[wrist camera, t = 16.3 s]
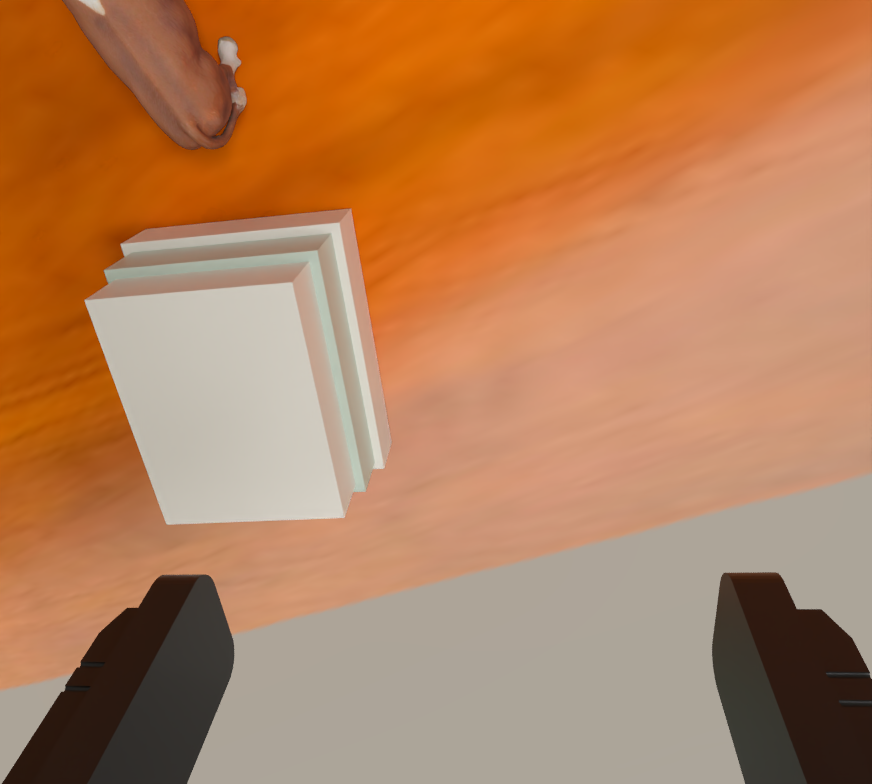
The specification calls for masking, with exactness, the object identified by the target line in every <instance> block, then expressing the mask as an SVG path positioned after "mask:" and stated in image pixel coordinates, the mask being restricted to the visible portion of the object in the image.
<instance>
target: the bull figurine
mask: <svg viewBox="0 0 872 784" xmlns="http://www.w3.org/2000/svg"><path fill="white" fill-rule="evenodd" d="M62 1H63V2H64V3H65V5H66V6H67V7H68V9H69V10H70V11H71V13H72V14H73V15H74V17H75V19H76V21H77V22H78V24H79V26H80V28H81V29H82V31H83V32H84V34H85V35H86V37H87V38H88V39H89V41H90V42H91V44H92V45H93V46H94V48H95V49H96V50H97V52H98V53H99V54H100V56H101V57H102V59H103V60H104V61H105V62H106V64H107V65H108V66H109V68H110V69H111V70H112V71H113V72H114V73H115V74H116V75H117V76H118V77H119V78H120V79H121V80H122V81H123V83H124V84H125V85H126V86H127V87H128V88H129V89H130V90H131V91H132V92H133V93H134V94H135V96H136V98H137V99H138V100H139V102H140V103H141V105H142V106H143V107H144V109H145V110H146V111H147V113H148V114H149V115H150V116H151V118H152V119H153V120H154V121H155V123H156V124H157V125H158V126H159V127H160V128H161V129H162V130H163V131H164V132H165V134H166V135H168V136H169V137H170V138H171V139H172V140H173V141H174V142H176V143H177V144H178V145H180V146H182V147H183V148H186V149H190V150H194V149H198V148H200V147H201V146H202V147H204V148H206V149H217V148H220V147H223V146H224V145H225V144H226V143H227V142H228V141H229V139H230V138H231V136H232V133H233V130H234V127H235V123H236V120H237V118H238V116H239V114H240V113H241V112H242V111H243V110H244V108H245V105H246V103H247V98H246V94H245V91H244V89H243V88H241V87H237V85H236V83H235V79H234V73H235V71H236V69H237V67H238V66H240V64H241V61H240V59H238V58H237V51H238V46H237V44H236V42H235V41H234V40H233V39H232V38H230V37H222V38H220V39H219V40H218V53H219V56H220V60H221V64H220V65H218V64H217V62H216V61H215V60H214V59H213V57H212V56H211V55H210V54H209V53H207V52H206V51H205V50H203V49H202V48H201V45H200V42H199V38H198V33H197V28H196V24H195V21H194V18H193V16H192V14H191V12H190V10H189V8H188V7H187V5H186V4H185V2H184V1H183V0H62ZM230 114H231V115H230ZM228 119H229V120H228ZM227 121H228V123H227ZM226 123H227V126H226V128H225V129H224V132H223V133H222V134H221V135H220V136H216V134H217V133H218V132H219V131H220V130H221V129H222V128H223V127H224V126H225V125H226Z"/></svg>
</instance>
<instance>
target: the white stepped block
mask: <svg viewBox="0 0 872 784" xmlns="http://www.w3.org/2000/svg"><path fill="white" fill-rule="evenodd" d="M120 245H121V248H122V251H123V254H124V258H122V259H121V260H119V261H117V262H116V263H114V264H113V265H111V266H109V267H108V268H106V269H105V270H104V273H105V276H106V279H107V281H108V285H106V286H105V287H103V288H102V289H100V290H99V291H97V292H96V293H94V294H93V295H91V296H90V297H88V298H87V299H85V300H84V301H85V303H86V306H87V309H88V312H89V314H90V317H91V320H92V323H93V325H94V328H95V331H96V333H97V336H98V339H99V342H100V344H101V347H102V350H103V353H104V355H105V358H106V361H107V363H108V366H109V369H110V372H111V374H112V377H113V380H114V383H115V385H116V388H117V391H118V393H119V396H120V399H121V402H122V404H123V407H124V410H125V413H126V415H127V418H128V421H129V423H130V426H131V429H132V432H133V434H134V437H135V440H136V443H137V445H138V448H139V451H140V453H141V456H142V459H143V462H144V464H145V467H146V470H147V473H148V475H149V478H150V481H151V483H152V486H153V489H154V492H155V494H156V497H157V500H158V503H159V505H160V508H161V511H162V513H163V516H164V519H165V522H166V524H167V525H169V524H196V523H222V522H248V521H274V520H300V519H327V518H345V515H346V512H347V509H348V506H349V503H350V500H351V497H352V494H353V492H366V489H367V486H368V483H369V480H370V476H371V473H372V470H373V469H384V468H385V464H386V461H387V457H388V454H389V450H390V447H391V443H392V441H391V435H390V429H389V424H388V418H387V412H386V406H385V401H384V395H383V389H382V383H381V378H380V372H379V366H378V361H377V355H376V349H375V343H374V338H373V332H372V326H371V320H370V315H369V309H368V303H367V297H366V292H365V286H364V280H363V274H362V269H361V263H360V257H359V251H358V246H357V240H356V234H355V228H354V223H353V217H352V211H351V208H350V209H340V210H330V211H320V212H310V213H300V214H291V215H281V216H271V217H261V218H251V219H241V220H231V221H221V222H211V223H201V224H191V225H181V226H171V227H161V228H152V229H145V230H143V231H142V232H140V233H138V234H137V235H135V236H133V237H132V238H130V239H128V240H126V241H125V242H123V243H121V244H120Z"/></svg>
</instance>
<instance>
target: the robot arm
mask: <svg viewBox="0 0 872 784" xmlns="http://www.w3.org/2000/svg"><path fill="white" fill-rule="evenodd" d="M712 657H713V668H714V674H715V680H716V685H717V689H718V692H719V696H720V699H721V702H722V706H723V709H724V713H725V716H726V720H727V723H728V726H729V730H730V733H731V736H732V740H733V743H734V747H735V750H736V754H737V757H738V760H739V764H740V767H741V771H742V774H743V777H744V780H745V784H872V679H871V678H870V672H869V670H868V668H867V666H866V664H865V663H864V661H863V658H862V657H861V655H860V653H859V651H858V649H857V647H856V645H855V643H854V641H853V639H852V638H851V637H850V636H849V635H848V634H847V633H846V632H845V631H844V630H842V628H841V627H839V626H838V625H837V624H836V623H835V622H834V621H833V620H832V619H831V618H830V617H829V616H828V615H827V614H826V613H825V612H823V611H822V610H820V609H817V610H815V609H814V610H813V609H812V610H809V609H807V610H805V609H801V610H800V609H796V607H795V604H794V602H793V600H792V598H791V596H790V593H789V592H788V589H787V587H786V585H785V583H784V581H783V579H782V577H781V576H780V575H779V574H778V573H724V574H723V575H722V577H721V581H720V588H719V596H718V605H717V612H716V619H715V627H714V635H713V644H712ZM233 663H234V643H233V638H232V635H231V632H230V629H229V626H228V623H227V620H226V617H225V614H224V611H223V608H222V605H221V602H220V599H219V596H218V593H217V590H216V587H215V584H214V582H213V580H212V578H211V577H210V576H208V575H162V576H160V577H158V578H157V579H156V580H155V582H154V583H153V584H152V586H151V588H150V589H149V591H148V593H147V594H146V596H145V598H144V599H143V601H142V603H141V604H140V606H139V608H127V609H125V610H124V611H123V612H122V613H121V614H120V615H119V616H118V617H116V618H115V619H114V620H113V621H112V622H111V623H110V624H109V625H107V626H106V627H105V628H104V629H103V630H102V631H101V632H100V633H99V634H98V636H97V637H96V639H95V640H94V642H93V643H92V645H91V646H90V648H89V650H88V651H87V653H86V654H85V656H84V657H83V659H82V660H81V666H80V668H76V670H75V671H74V673H73V674H72V676H71V677H70V679H69V681H68V682H67V684H66V685H65V686H66V688H65V691H64V692H61V693H60V695H59V696H58V698H57V699H56V701H55V702H54V704H53V705H52V707H51V708H50V710H49V712H48V713H47V715H46V716H45V718H44V719H43V721H42V723H41V724H40V726H39V727H38V729H37V730H36V732H35V733H34V735H33V736H32V738H31V740H30V741H29V743H28V744H27V746H26V747H25V749H24V751H23V752H22V754H21V755H20V757H19V758H18V760H17V761H16V763H15V764H14V766H13V767H12V769H11V771H10V772H9V774H8V775H7V777H6V779H5V780H4V781H3V783H2V784H187V782H188V779H189V777H190V775H191V772H192V770H193V767H194V765H195V762H196V760H197V758H198V755H199V753H200V750H201V748H202V745H203V743H204V741H205V738H206V736H207V733H208V731H209V728H210V726H211V724H212V721H213V719H214V716H215V713H216V711H217V709H218V707H219V704H220V702H221V699H222V697H223V694H224V692H225V690H226V687H227V685H228V682H229V679H230V677H231V673H232V669H233Z"/></svg>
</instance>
